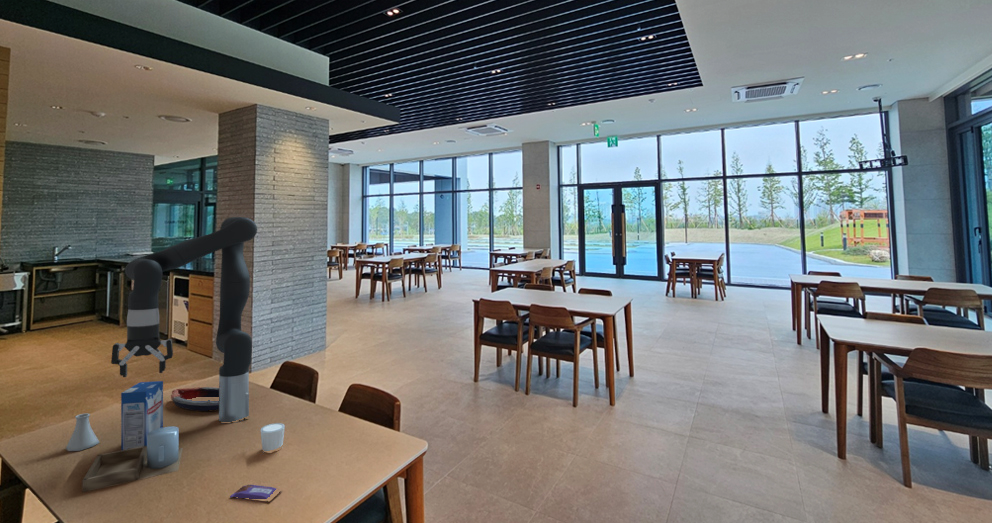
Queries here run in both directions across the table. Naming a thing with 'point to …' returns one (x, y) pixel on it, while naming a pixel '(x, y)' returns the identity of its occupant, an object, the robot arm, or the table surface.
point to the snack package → (254, 492)
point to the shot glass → (272, 436)
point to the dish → (188, 393)
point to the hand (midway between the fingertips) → (143, 374)
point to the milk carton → (141, 413)
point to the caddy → (122, 468)
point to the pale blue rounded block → (162, 447)
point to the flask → (82, 434)
